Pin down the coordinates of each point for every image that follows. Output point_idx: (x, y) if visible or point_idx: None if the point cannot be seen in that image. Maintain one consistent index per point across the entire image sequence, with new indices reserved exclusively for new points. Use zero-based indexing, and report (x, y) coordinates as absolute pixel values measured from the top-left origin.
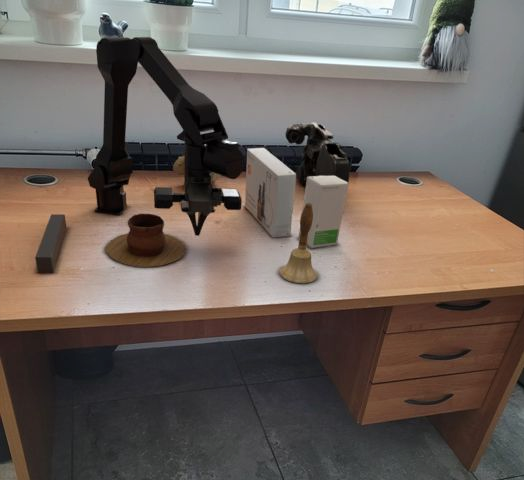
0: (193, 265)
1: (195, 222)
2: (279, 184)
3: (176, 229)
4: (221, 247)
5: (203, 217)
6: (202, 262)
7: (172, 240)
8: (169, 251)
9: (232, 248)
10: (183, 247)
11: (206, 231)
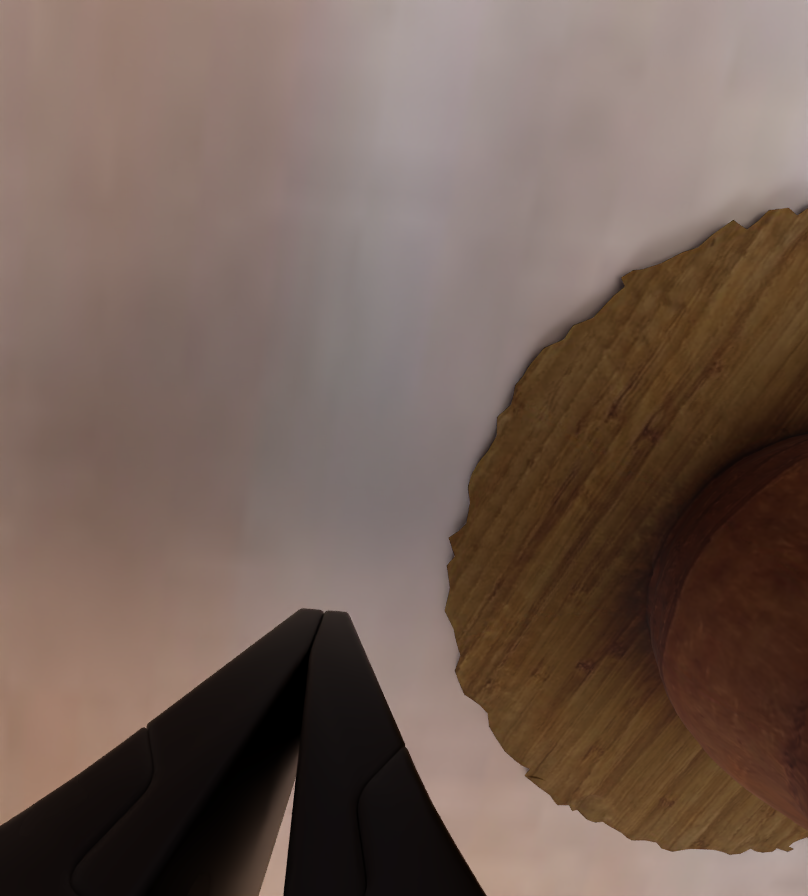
0: (436, 201)
1: (319, 759)
2: None
3: None
4: (113, 560)
5: (25, 879)
6: (333, 261)
7: (534, 708)
8: (609, 511)
9: (9, 532)
10: (465, 578)
11: None
